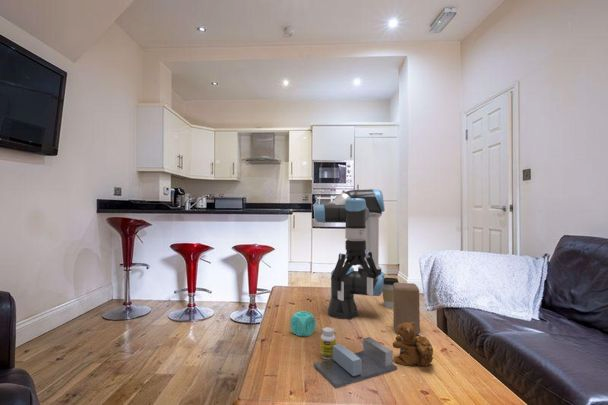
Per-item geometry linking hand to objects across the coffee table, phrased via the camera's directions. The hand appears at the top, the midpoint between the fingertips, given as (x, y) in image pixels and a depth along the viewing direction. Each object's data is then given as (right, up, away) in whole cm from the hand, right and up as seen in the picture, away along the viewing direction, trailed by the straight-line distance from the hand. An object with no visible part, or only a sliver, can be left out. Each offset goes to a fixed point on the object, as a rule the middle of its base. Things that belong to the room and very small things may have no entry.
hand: (355, 297), depth 111 cm
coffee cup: (+29, -23, +55) cm, 66 cm away
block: (+26, -22, +21) cm, 40 cm away
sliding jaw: (-5, -19, -11) cm, 23 cm away
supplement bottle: (-10, -21, -2) cm, 24 cm away
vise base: (-2, -21, -10) cm, 23 cm away
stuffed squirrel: (+19, -21, -6) cm, 29 cm away
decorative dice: (-20, -22, +19) cm, 35 cm away
